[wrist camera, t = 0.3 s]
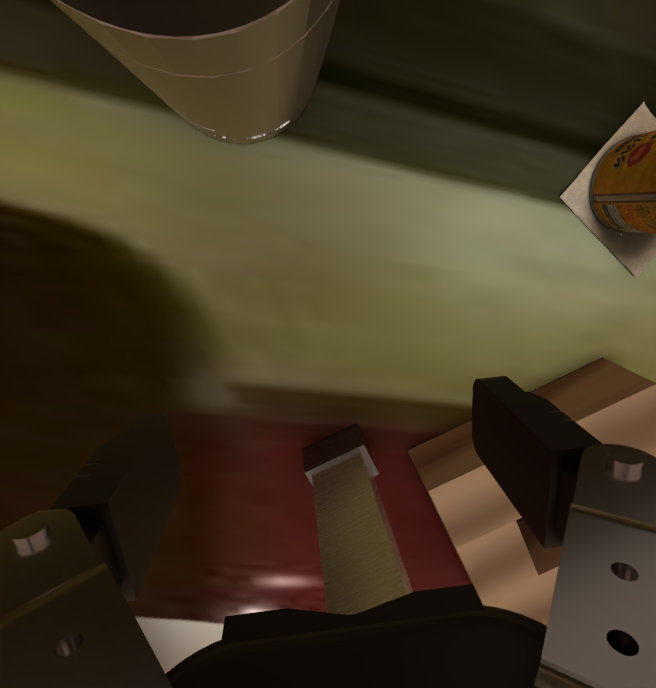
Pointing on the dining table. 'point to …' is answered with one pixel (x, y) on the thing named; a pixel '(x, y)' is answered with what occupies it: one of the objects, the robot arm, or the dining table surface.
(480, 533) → the tongs holder
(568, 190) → the condiment
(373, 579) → the metal bar
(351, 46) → the dining table surface
